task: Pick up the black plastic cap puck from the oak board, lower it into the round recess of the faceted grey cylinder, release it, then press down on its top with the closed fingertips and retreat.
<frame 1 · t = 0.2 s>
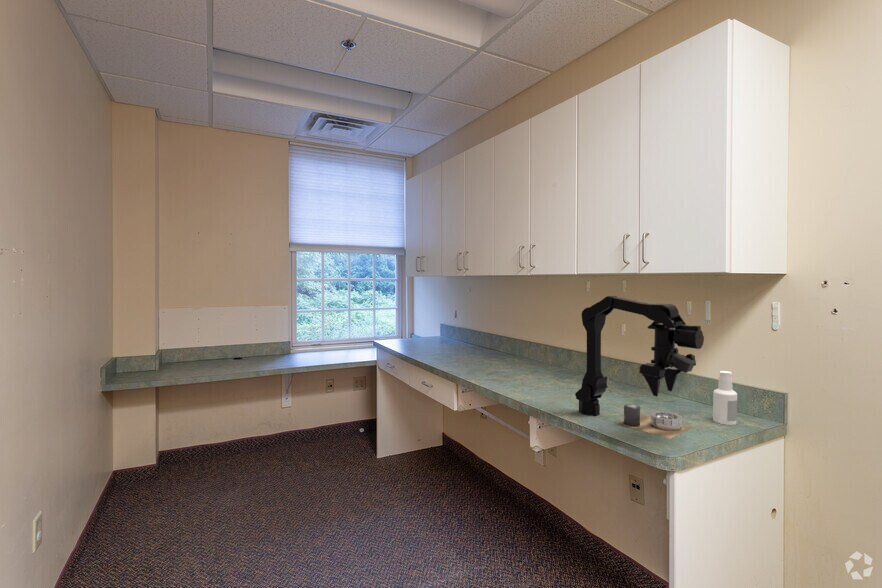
hand: (662, 393, 137), 14 cm above the worktop, fingers open, 9 cm apart
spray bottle: (724, 424, 148), on the worktop
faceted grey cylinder: (666, 426, 144), resting on board
cap: (631, 424, 146), point 1 cm above the worktop, touching board
board: (653, 428, 145), on the worktop
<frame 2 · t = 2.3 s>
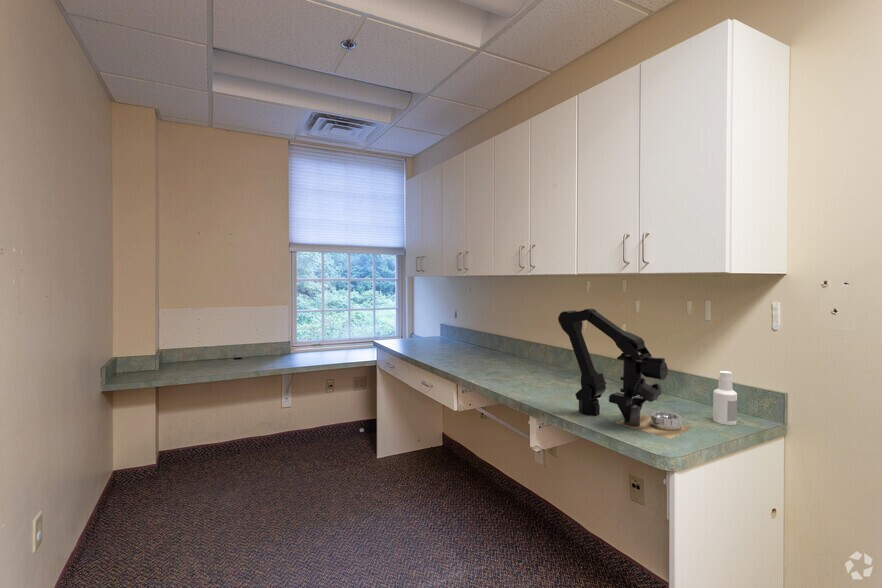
hand: (631, 420, 146), 2 cm above the worktop, fingers closed on cap, 5 cm apart
cap: (631, 424, 146), point 1 cm above the worktop, touching board, gripper
everything else where it was.
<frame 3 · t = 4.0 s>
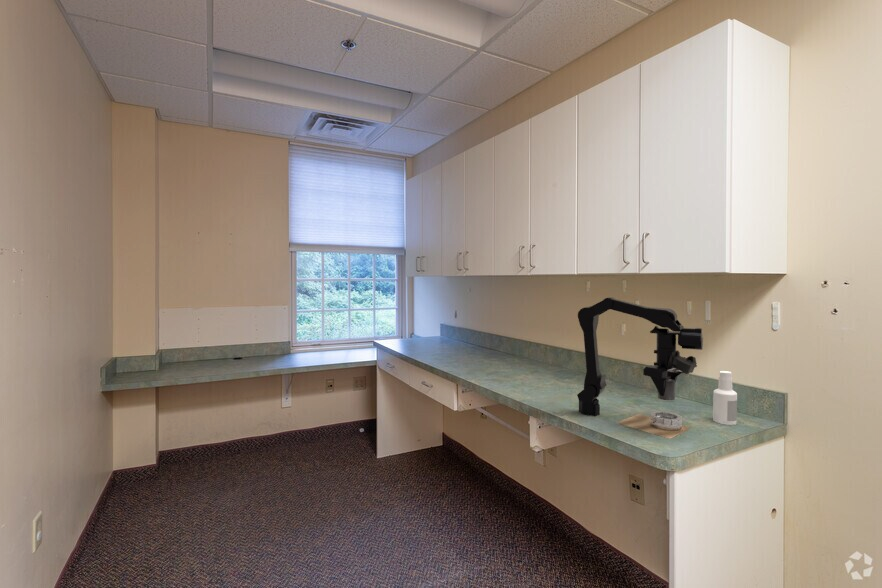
hand: (666, 394, 143), 12 cm above the worktop, fingers closed on cap, 5 cm apart
cap: (666, 398, 143), point 10 cm above the worktop, touching gripper
everything else where it was.
when the fingers open (5 cm above the worktop, at t = 5.6 s): cap stays where it is, resting on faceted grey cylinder.
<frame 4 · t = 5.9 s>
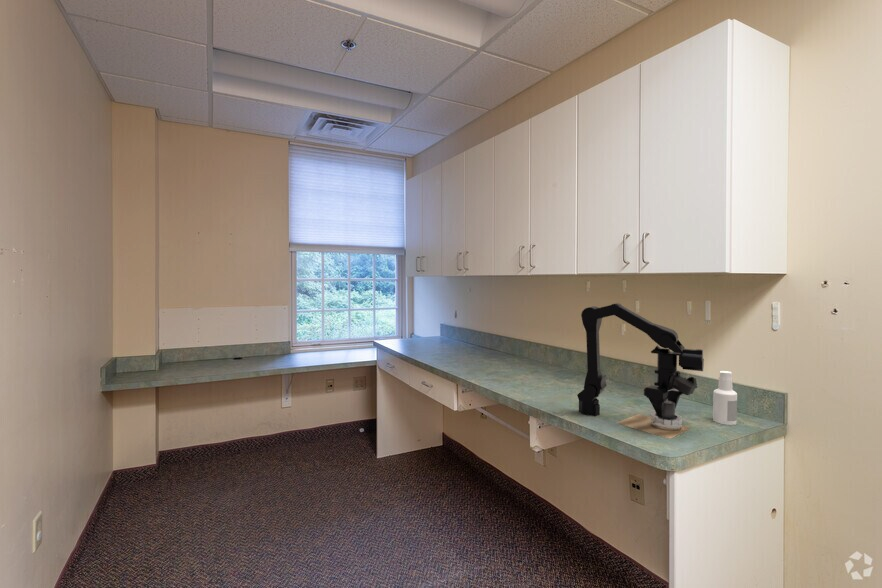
hand: (666, 414, 144), 5 cm above the worktop, fingers open, 8 cm apart
cap: (666, 420, 144), point 3 cm above the worktop, touching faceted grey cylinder
everything else where it was.
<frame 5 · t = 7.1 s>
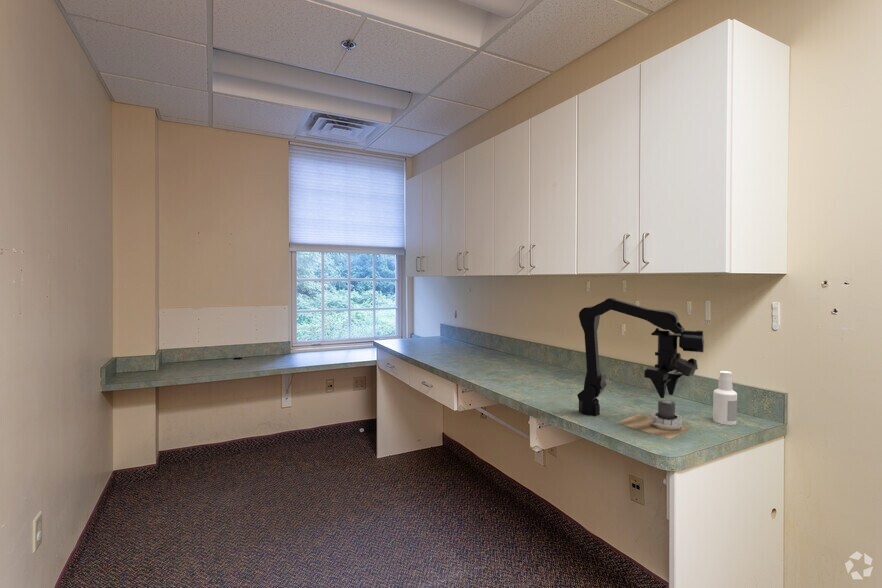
hand: (666, 396, 144), 11 cm above the worktop, fingers open, 6 cm apart
nothing on the worktop moved.
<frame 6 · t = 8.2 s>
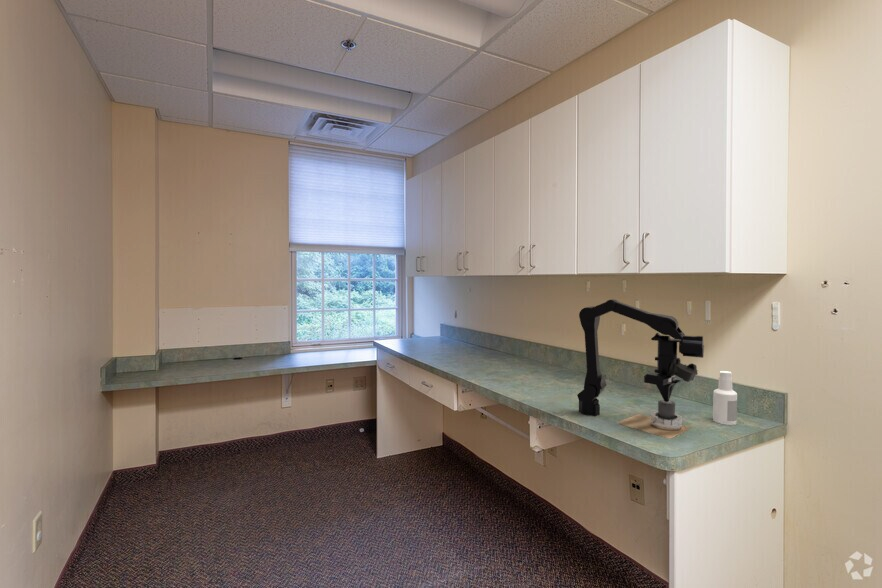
hand: (666, 401, 144), 9 cm above the worktop, fingers closed
nothing on the worktop moved.
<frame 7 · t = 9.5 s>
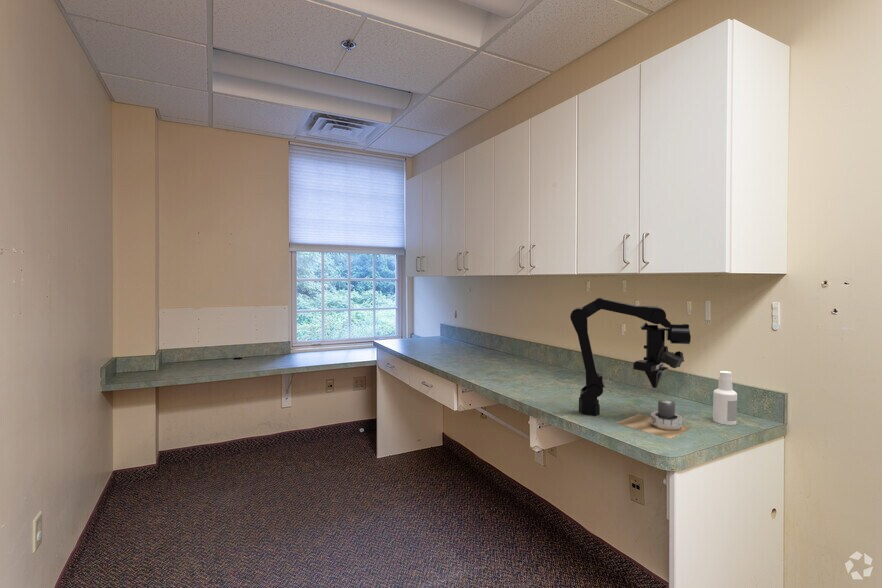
hand: (654, 387, 151), 12 cm above the worktop, fingers closed
nothing on the worktop moved.
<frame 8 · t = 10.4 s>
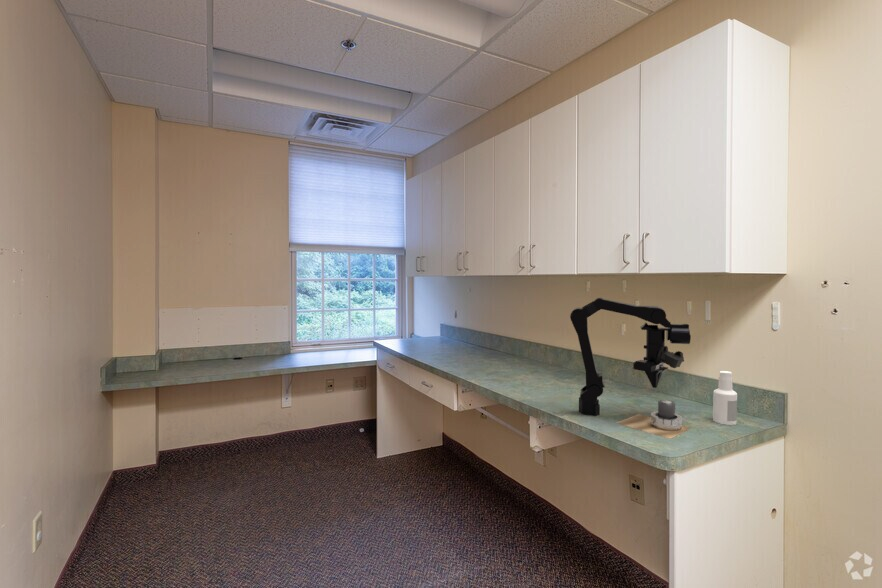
hand: (654, 387, 151), 12 cm above the worktop, fingers closed
nothing on the worktop moved.
at the end: cap 0.0 cm off-centre on the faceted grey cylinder, point 2.0 cm above the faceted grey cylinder's base; cap tilted 0°; the gripper is holding nothing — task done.
